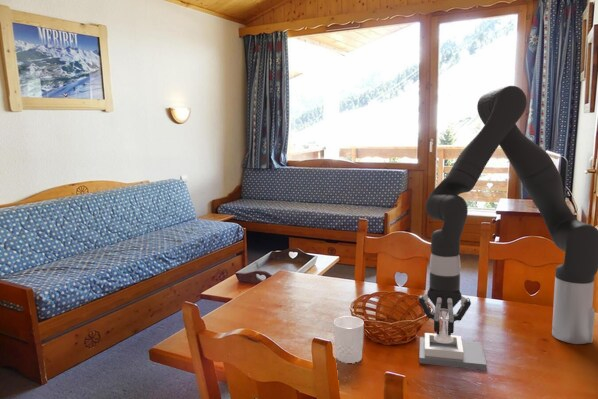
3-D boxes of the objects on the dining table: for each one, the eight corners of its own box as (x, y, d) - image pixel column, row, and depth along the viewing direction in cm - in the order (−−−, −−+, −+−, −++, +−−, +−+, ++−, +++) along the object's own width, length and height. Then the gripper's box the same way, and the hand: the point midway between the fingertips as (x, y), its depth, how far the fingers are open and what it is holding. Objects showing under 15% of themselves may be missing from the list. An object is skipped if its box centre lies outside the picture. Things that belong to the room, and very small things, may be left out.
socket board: (480, 347, 124) (481, 335, 123) (486, 370, 112) (486, 356, 112) (419, 342, 128) (420, 330, 127) (419, 363, 117) (419, 350, 116)
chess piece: (454, 344, 117) (455, 307, 116) (434, 342, 118) (435, 306, 117) (452, 335, 122) (453, 300, 121) (433, 334, 123) (433, 299, 122)
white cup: (356, 368, 115) (355, 330, 114) (328, 360, 119) (328, 324, 118) (368, 354, 122) (368, 319, 120) (342, 348, 126) (341, 313, 124)
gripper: (472, 267, 119) (470, 330, 122) (417, 264, 123) (416, 325, 125) (474, 276, 112) (472, 342, 114) (416, 273, 116) (416, 337, 118)
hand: (443, 333), depth 120 cm, fingers closed on chess piece
